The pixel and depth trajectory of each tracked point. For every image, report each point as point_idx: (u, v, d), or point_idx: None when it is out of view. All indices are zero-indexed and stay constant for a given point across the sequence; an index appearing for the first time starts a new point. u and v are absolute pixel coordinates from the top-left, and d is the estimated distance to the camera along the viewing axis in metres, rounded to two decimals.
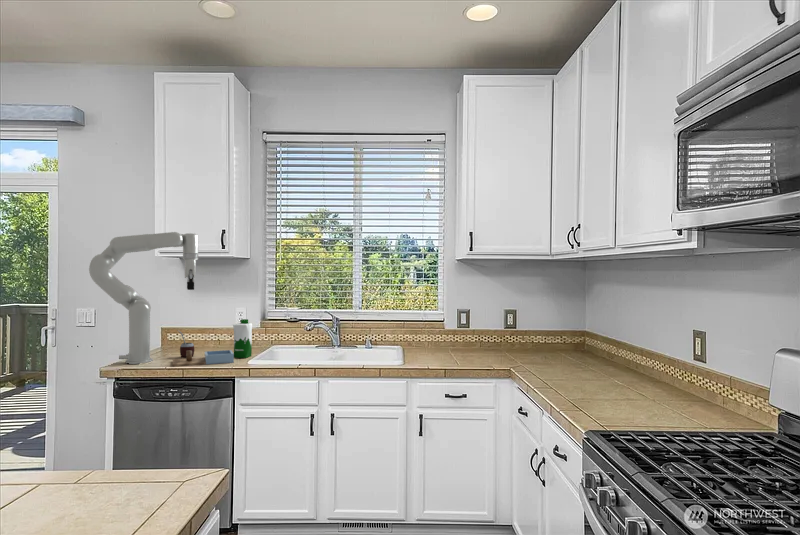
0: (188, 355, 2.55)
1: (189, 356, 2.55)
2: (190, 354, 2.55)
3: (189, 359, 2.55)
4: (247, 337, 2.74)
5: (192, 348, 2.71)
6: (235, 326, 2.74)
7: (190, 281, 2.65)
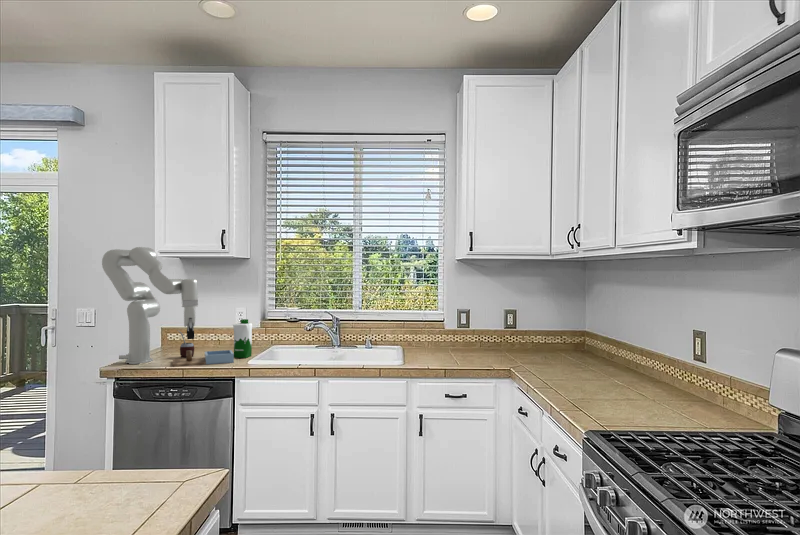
0: (188, 355, 2.55)
1: (189, 356, 2.55)
2: (190, 354, 2.55)
3: (189, 359, 2.55)
4: (247, 337, 2.74)
5: (192, 348, 2.71)
6: (235, 326, 2.74)
7: (190, 330, 2.50)
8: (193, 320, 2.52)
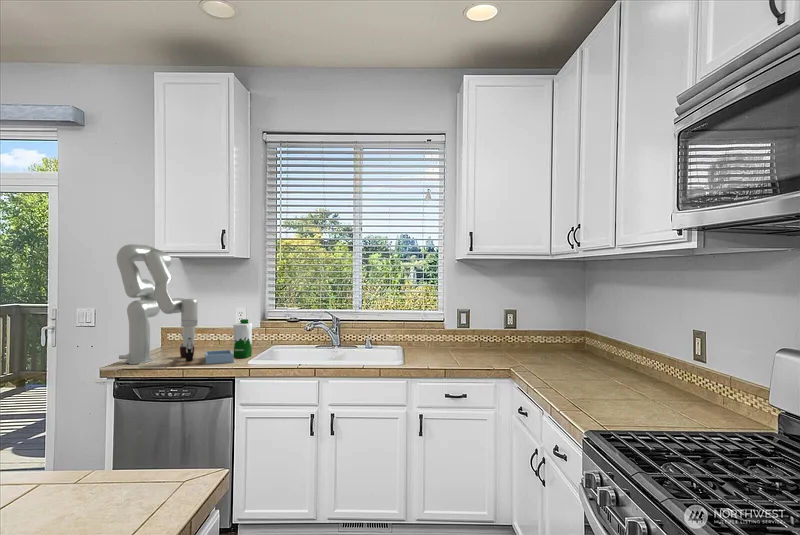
0: None
1: None
2: None
3: None
4: (247, 337, 2.74)
5: (192, 348, 2.71)
6: (235, 326, 2.74)
7: (188, 353, 2.54)
8: (192, 340, 2.52)
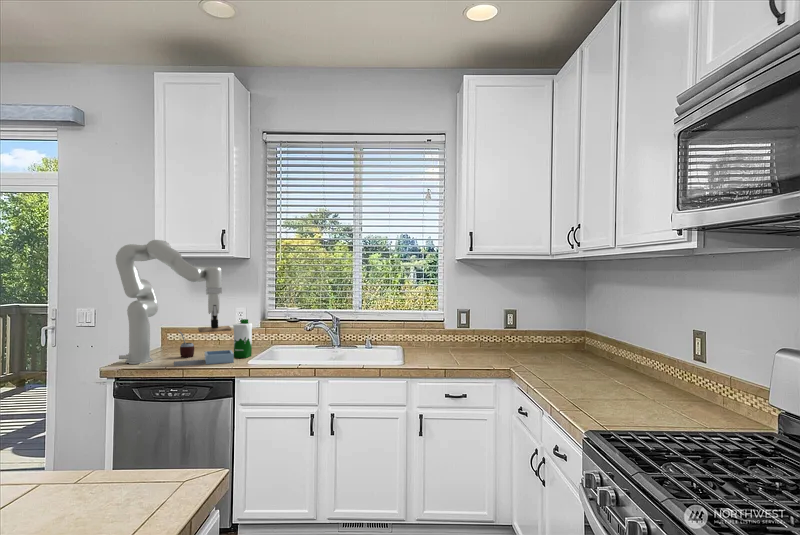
0: None
1: None
2: None
3: None
4: (247, 337, 2.74)
5: (192, 348, 2.71)
6: (235, 326, 2.74)
7: (214, 320, 2.58)
8: (217, 307, 2.56)
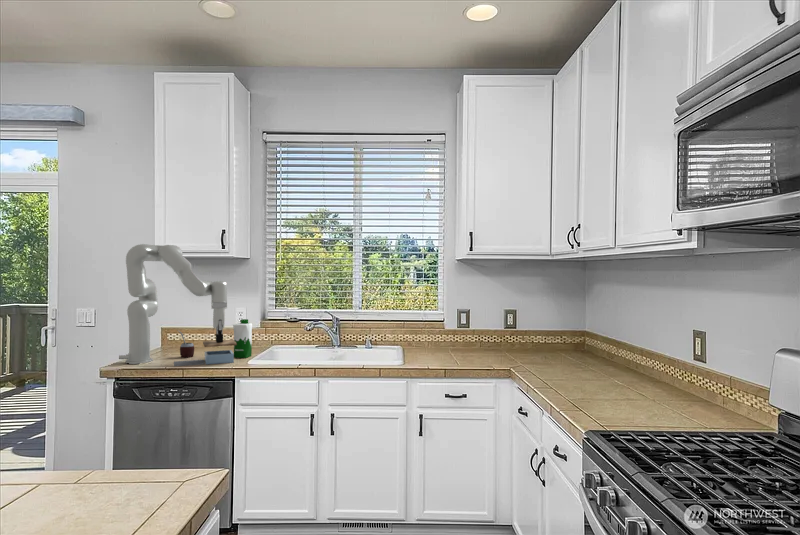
0: None
1: None
2: None
3: None
4: (247, 337, 2.74)
5: (192, 348, 2.71)
6: (235, 326, 2.74)
7: (219, 334, 2.58)
8: (223, 322, 2.57)
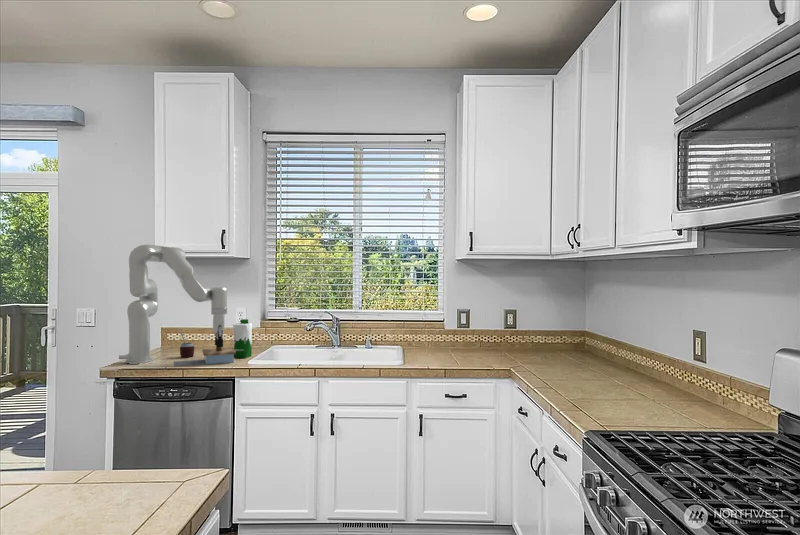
0: None
1: None
2: None
3: (219, 349, 2.60)
4: (247, 337, 2.74)
5: (192, 348, 2.71)
6: (235, 326, 2.74)
7: (219, 339, 2.56)
8: (222, 328, 2.57)
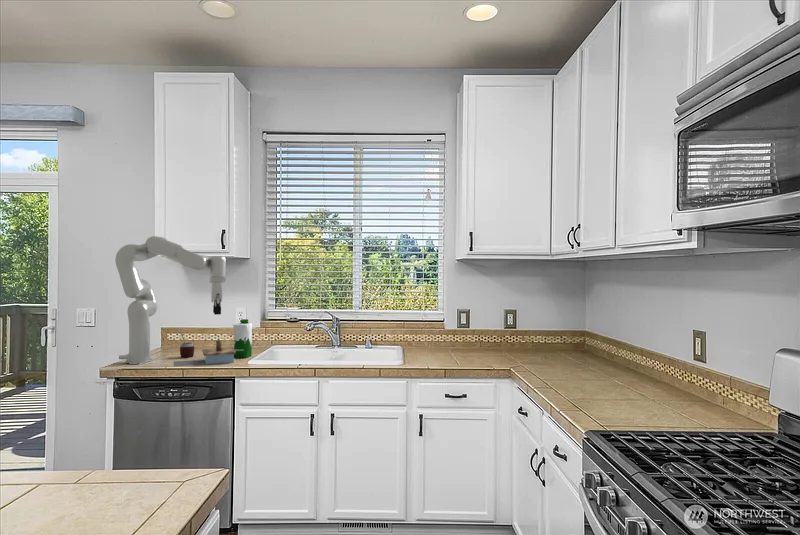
0: (218, 345, 2.60)
1: (219, 346, 2.60)
2: (220, 344, 2.60)
3: (219, 349, 2.60)
4: (247, 337, 2.74)
5: (192, 348, 2.71)
6: (235, 326, 2.74)
7: (217, 306, 2.57)
8: (220, 296, 2.59)
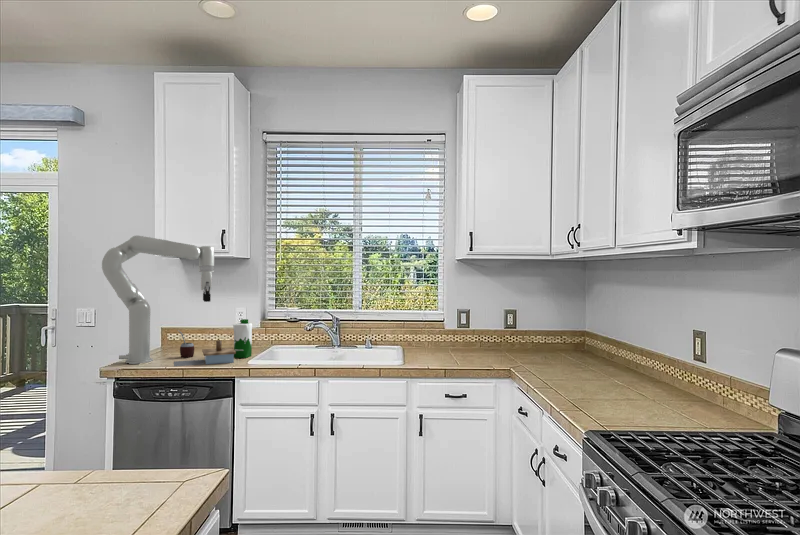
0: (218, 345, 2.60)
1: (219, 346, 2.60)
2: (220, 344, 2.60)
3: (219, 349, 2.60)
4: (247, 337, 2.74)
5: (192, 348, 2.71)
6: (235, 326, 2.74)
7: (206, 293, 2.70)
8: (210, 284, 2.72)
